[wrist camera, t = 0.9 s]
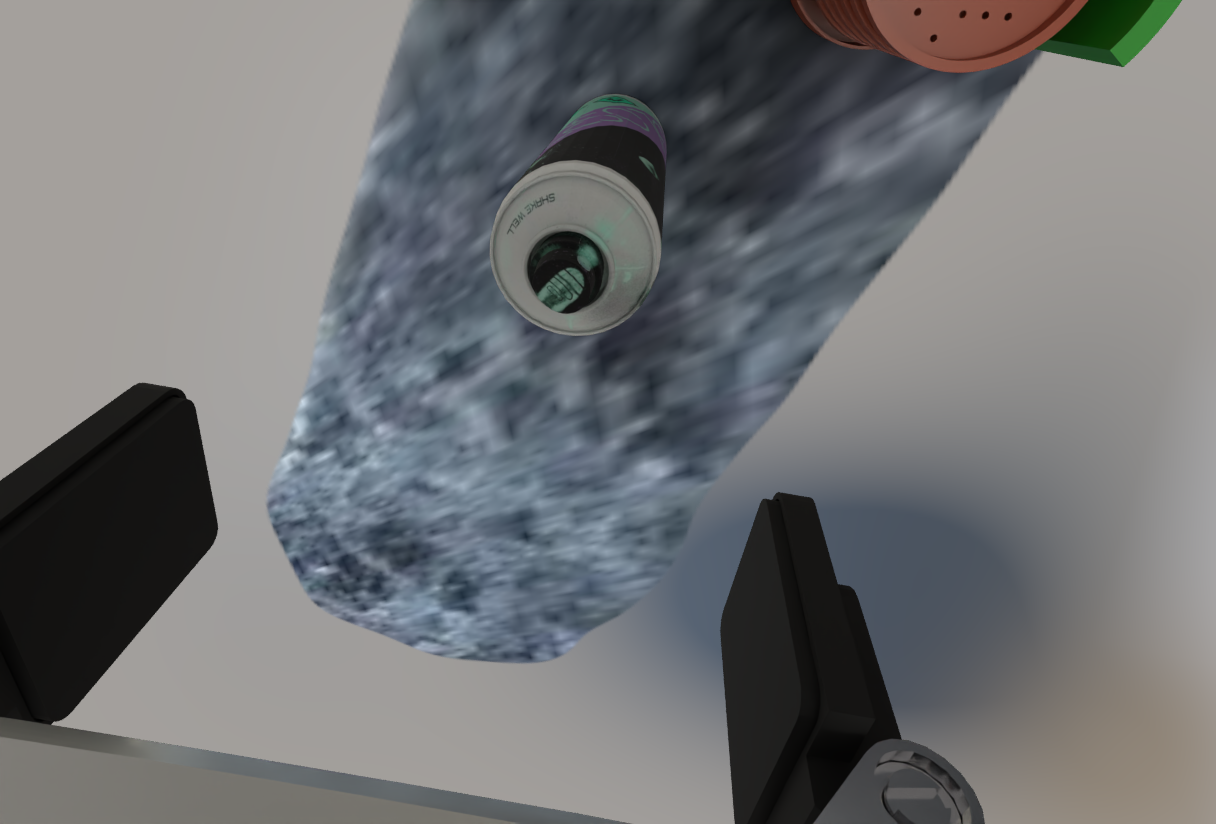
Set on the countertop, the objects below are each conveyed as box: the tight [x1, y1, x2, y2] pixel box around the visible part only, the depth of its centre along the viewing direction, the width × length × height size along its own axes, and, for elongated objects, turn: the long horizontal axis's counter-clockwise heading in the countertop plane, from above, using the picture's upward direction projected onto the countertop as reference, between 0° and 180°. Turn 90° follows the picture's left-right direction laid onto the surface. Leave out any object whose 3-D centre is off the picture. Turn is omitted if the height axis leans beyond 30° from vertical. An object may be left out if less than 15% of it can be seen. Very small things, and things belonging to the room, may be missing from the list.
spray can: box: [490, 94, 667, 336], centre depth 28 cm, size 6×6×20 cm
